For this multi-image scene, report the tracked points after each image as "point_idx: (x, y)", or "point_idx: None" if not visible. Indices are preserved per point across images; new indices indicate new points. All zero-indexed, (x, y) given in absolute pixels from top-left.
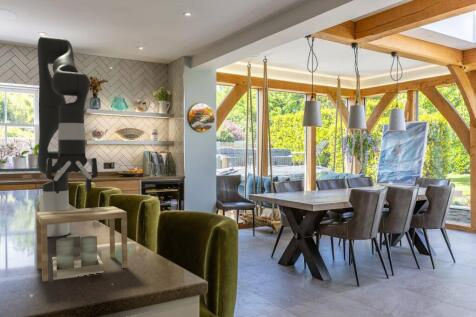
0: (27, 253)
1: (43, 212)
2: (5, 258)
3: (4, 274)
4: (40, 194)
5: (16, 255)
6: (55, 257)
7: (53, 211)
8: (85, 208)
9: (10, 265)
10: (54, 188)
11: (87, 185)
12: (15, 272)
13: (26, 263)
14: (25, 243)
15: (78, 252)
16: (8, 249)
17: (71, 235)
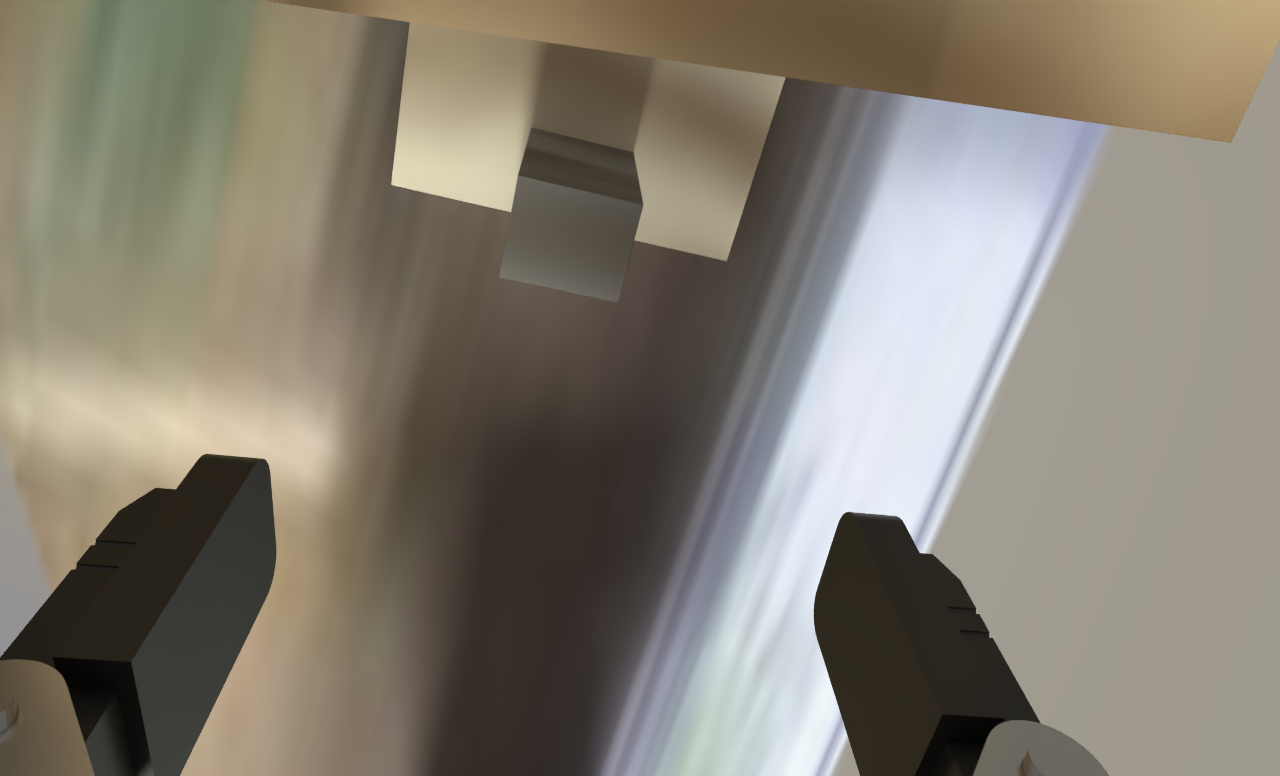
0: (798, 526)
1: (1181, 22)
2: (951, 481)
3: None
4: None
5: None
6: (711, 231)
7: (1018, 26)
8: (445, 16)
9: (1008, 271)
10: (957, 602)
11: (189, 542)
12: None
13: (910, 253)
14: (716, 768)
15: (547, 138)
16: None
17: (578, 289)
